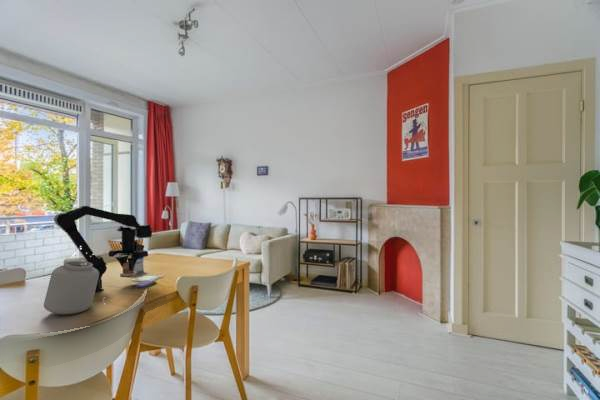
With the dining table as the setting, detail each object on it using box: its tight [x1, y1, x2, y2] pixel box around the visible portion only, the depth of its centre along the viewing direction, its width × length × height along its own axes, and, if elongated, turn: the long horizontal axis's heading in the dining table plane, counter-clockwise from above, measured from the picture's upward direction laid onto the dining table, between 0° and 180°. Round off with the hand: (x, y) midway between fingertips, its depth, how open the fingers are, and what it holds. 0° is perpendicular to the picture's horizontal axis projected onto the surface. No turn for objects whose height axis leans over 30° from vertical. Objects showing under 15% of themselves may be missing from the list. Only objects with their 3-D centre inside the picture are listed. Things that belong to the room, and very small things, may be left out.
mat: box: [130, 274, 165, 283], centre depth 154 cm, size 11×11×1 cm
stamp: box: [119, 261, 138, 278], centre depth 144 cm, size 5×5×7 cm
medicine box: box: [134, 257, 144, 275], centre depth 165 cm, size 8×4×9 cm, turn 179°
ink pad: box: [130, 280, 158, 290], centre depth 142 cm, size 9×7×1 cm
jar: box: [43, 246, 106, 315], centre depth 111 cm, size 19×15×25 cm
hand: (128, 270), depth 144 cm, fingers closed on stamp, 3 cm apart
